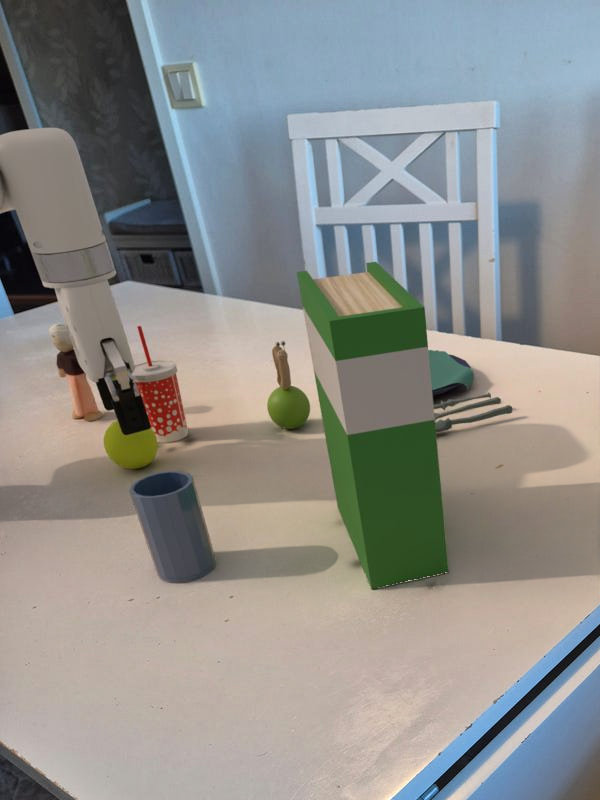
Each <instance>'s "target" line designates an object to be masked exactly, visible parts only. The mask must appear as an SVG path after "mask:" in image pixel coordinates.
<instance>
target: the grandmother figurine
mask: <svg viewBox="0 0 600 800" xmlns="http://www.w3.org/2000/svg"><path fill="white" fill-rule="evenodd" d="M48 331H49V334H50V336H51V337H52V342H53V345H54V347H55V348H56V350H58V351H59V352H58V353H57V354H56V367H57V371H58V376H59V377H60V378H66V380H67V381H68V385H69V390H70V394H71V400H72V403H73V404H72V405H73V408H74V411H72V413H71V418H72V419H82V418H83V419H84V421H85V422H94V421H97V420H99V419H100V418H102V417H103V416H104V413H103V412H102V411H101V410H99V407H98V404H97V402H96V398H95V395H94V392H93V389H92V387H91V385H90V384H89V382H88V379H87V375H86V374H85V372H84V371H83V369H82V368H81V367H80V365H79V363H78V360H77V357H76V354H75V351H74V347H73V344H72V341H71V338H70V335H69V333H68V330H67V327H66V324H65V323H55V324H52V325H51V326H50V327H49V330H48Z"/></svg>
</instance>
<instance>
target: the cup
mask: <svg viewBox="0 0 600 800" xmlns="http://www.w3.org/2000/svg"><path fill="white" fill-rule="evenodd" d="M128 491H129V494H130V498H131V501H132V503H133V507H134V510H135V513H136V515H137V518H138V521H139V525H140V527H141V530H142V534H143V537H144V539H145V543H146V546H147V548H148V552H149V555H150V558H151V561H152V564H153V567H154V570H155V572H156V574H157V576H158V578H159V579H160V580H162V581H163V582H167V583H170V584H172V583H173V584H181V583H189V582H192V581H196V580H199V579H201V578H203V577H205V576H207V575H208V574H210V573H211V572H212V571H213V570H214V568H215V567H216V564H217V559H216V554H215V551H214V547H213V544H212V539H211V537H210V533H209V530H208V529H209V528H208V526H207V522H206V519H205V516H204V512H203V508H202V505H201V500H200V498H199V494H198V490H197V487H196V483H195V480H194V477H193V476H192V475H191V474H190V473H189V472H186V471H182V470H165V471H158V472H154V473H150V474H147V475H145V476H143V477H140V478H138V479H137V480H135V481H134V482H133V483H132V484H131V485H130V487H129V490H128Z"/></svg>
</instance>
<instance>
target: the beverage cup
mask: <svg viewBox="0 0 600 800" xmlns="http://www.w3.org/2000/svg"><path fill="white" fill-rule="evenodd" d="M136 328H137V332H138V335H139V338H140V342H141V345H142V349H143V352H144V356H145V359H146V361H142V362H138V363H136V364H134V366H135V370H134V372H133V373H132V377H133V379H134V381H135V384H136V386H137V388H138V391H139V393H140V394H141V396H142V400H143V403H144V406H145V409H146V412H147V415H148V418H149V421H150V424H151V429H152V430H153V432H154V433H155V435H156V438H157V442H158V443H159V444H160V443H162V444H163V443H165V444H166V443H172V442H177V441H180V440H182V439H184V438H186V437H187V436H188V435H189V428H188V424H187V419H186V413H185V410H184V404H183V399H182V395H181V394H182V393H181V391H180V386H179V381H178V375H177V373H178V367H177V362H175V361H174V360H170V359H154V360H152V358H151V356H150V352H149V348H148V345H147V342H146V338H145V335H144V334H145V333H144V331H143V327H142V325H138V326H136Z"/></svg>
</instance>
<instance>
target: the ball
mask: <svg viewBox="0 0 600 800" xmlns="http://www.w3.org/2000/svg"><path fill="white" fill-rule="evenodd" d="M103 447H104V450H105V453H106V454H107V456H108V458H109V459H110V460H111V461H112V462H113V463H114V464H116V465H118V466H119V467H122V468H124V469H128V470H130V469H131V470H137V469H141V468H144V467H146V466H148V465H149V464H150V463H152V462H153V461H154V459H155V457H156V455H157V453H158V449H159V448H158V447H159V442H157V438H156V435H155V433H154V432H153V430H152V429H151V428H150V429H148V430H144V431H141V432H137V433H133V434H129V435H124V434H123V433H122V431H121V428H120V425H119V423H118V420H117V419H116V420H115V421H113V422H112V423H110V425H109V426H108V427H107V429H106V430H105V433H104V436H103Z"/></svg>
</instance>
